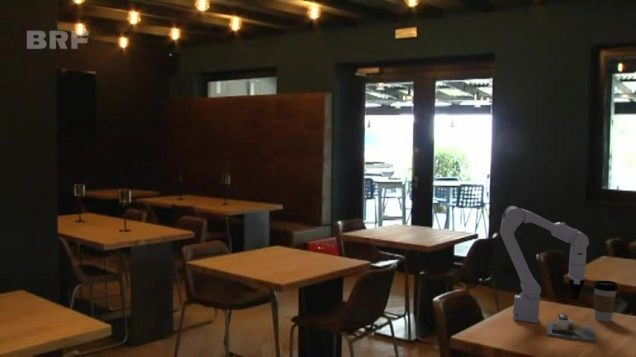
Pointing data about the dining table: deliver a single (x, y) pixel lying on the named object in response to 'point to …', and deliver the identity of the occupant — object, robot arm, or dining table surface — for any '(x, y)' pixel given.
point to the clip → (572, 324)
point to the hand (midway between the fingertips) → (574, 299)
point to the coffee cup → (604, 300)
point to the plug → (562, 323)
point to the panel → (572, 333)
